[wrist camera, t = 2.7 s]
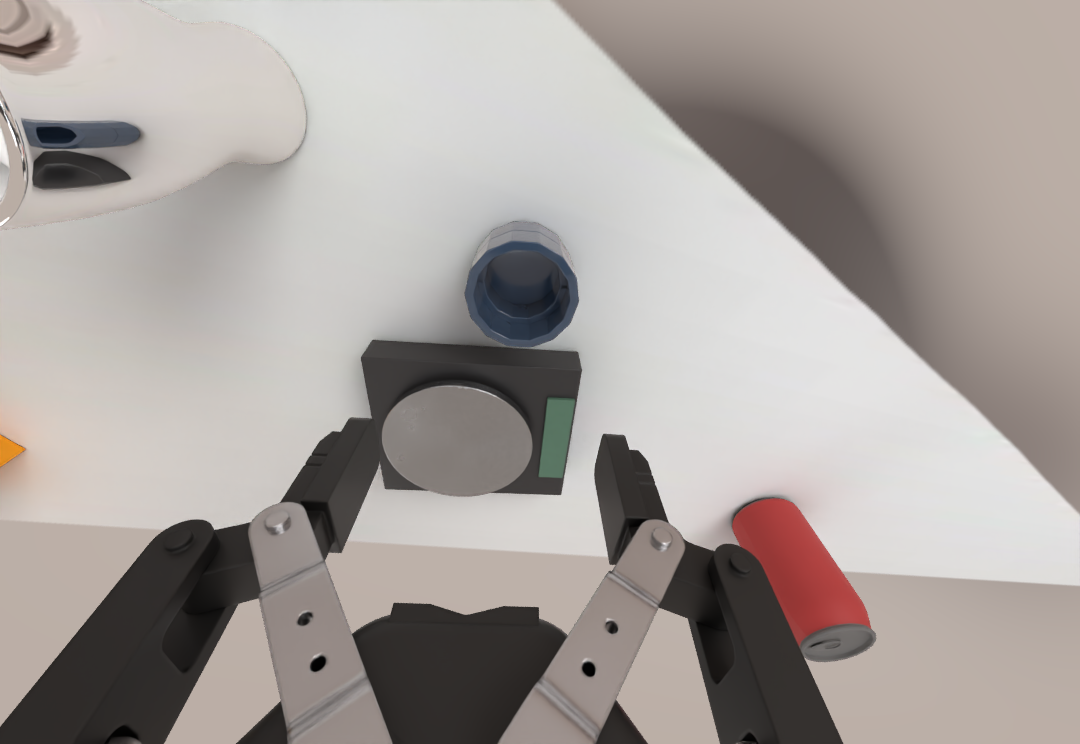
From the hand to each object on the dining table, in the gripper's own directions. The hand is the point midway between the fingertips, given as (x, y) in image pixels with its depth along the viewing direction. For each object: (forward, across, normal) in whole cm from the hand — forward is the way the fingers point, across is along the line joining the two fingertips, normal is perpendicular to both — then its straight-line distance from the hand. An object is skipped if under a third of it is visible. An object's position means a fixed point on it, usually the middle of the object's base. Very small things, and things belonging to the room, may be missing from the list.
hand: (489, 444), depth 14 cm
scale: (+15, +2, +11) cm, 19 cm away
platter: (+12, +3, +11) cm, 17 cm away
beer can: (+16, -27, +22) cm, 38 cm away
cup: (+15, -1, -2) cm, 15 cm away
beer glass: (+15, +14, -9) cm, 23 cm away
